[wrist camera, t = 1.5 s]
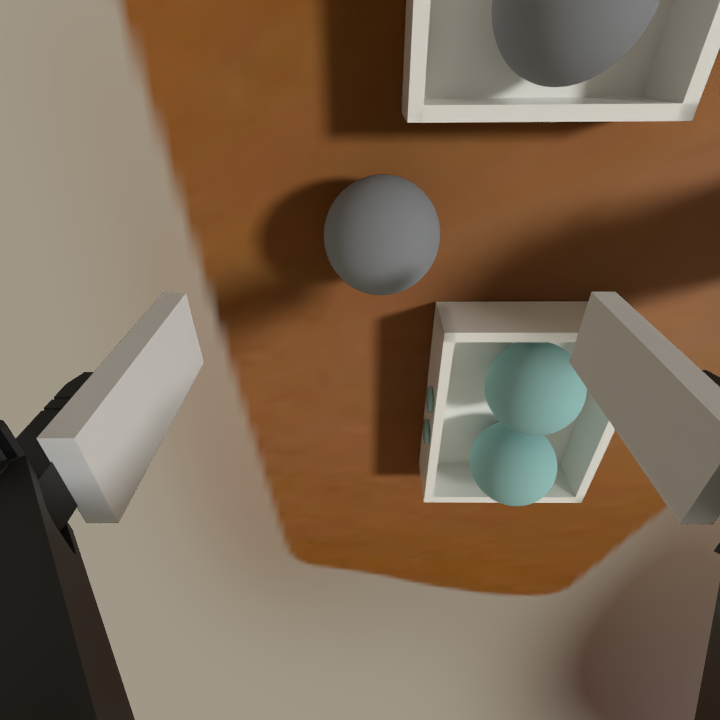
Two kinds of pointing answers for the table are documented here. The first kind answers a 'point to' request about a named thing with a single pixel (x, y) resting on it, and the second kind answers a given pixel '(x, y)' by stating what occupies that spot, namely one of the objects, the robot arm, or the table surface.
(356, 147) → the table surface
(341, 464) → the table surface
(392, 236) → the charcoal ball
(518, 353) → the teal ball
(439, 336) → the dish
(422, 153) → the table surface
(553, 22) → the charcoal ball
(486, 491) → the teal ball
